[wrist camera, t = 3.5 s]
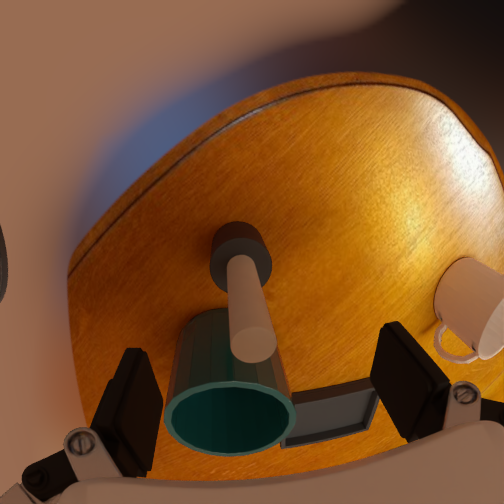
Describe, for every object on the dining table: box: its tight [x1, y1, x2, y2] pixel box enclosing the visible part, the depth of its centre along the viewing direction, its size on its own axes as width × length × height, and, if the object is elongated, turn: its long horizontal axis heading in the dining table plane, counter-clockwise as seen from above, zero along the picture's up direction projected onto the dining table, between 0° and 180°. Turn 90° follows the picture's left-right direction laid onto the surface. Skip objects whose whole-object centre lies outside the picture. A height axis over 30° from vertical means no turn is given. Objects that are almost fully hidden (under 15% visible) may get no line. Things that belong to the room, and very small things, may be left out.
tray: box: [280, 377, 380, 449], centre depth 33 cm, size 13×10×2 cm
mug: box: [434, 257, 504, 363], centre depth 25 cm, size 12×9×9 cm
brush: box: [210, 222, 277, 363], centre depth 19 cm, size 4×4×14 cm
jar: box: [164, 308, 297, 457], centre depth 24 cm, size 10×10×10 cm
